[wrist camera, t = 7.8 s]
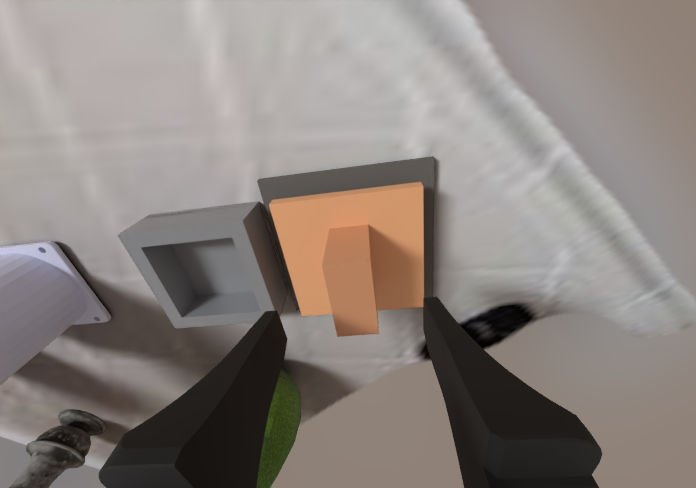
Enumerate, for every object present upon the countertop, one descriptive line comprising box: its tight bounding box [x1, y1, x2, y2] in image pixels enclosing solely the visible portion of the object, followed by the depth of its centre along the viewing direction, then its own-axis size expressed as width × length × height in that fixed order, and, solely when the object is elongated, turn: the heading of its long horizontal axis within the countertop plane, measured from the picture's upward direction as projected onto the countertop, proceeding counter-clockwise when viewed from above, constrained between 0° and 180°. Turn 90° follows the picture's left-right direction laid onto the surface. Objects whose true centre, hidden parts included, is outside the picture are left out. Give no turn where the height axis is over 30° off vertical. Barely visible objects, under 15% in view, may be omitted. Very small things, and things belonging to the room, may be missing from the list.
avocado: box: [256, 368, 301, 488], centre depth 23 cm, size 8×8×12 cm
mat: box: [257, 157, 435, 310], centre depth 20 cm, size 11×11×1 cm
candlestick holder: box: [9, 410, 106, 488], centre depth 29 cm, size 6×6×12 cm
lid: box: [269, 182, 424, 336], centre depth 17 cm, size 9×9×6 cm
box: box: [118, 202, 287, 329], centre depth 20 cm, size 8×8×3 cm
